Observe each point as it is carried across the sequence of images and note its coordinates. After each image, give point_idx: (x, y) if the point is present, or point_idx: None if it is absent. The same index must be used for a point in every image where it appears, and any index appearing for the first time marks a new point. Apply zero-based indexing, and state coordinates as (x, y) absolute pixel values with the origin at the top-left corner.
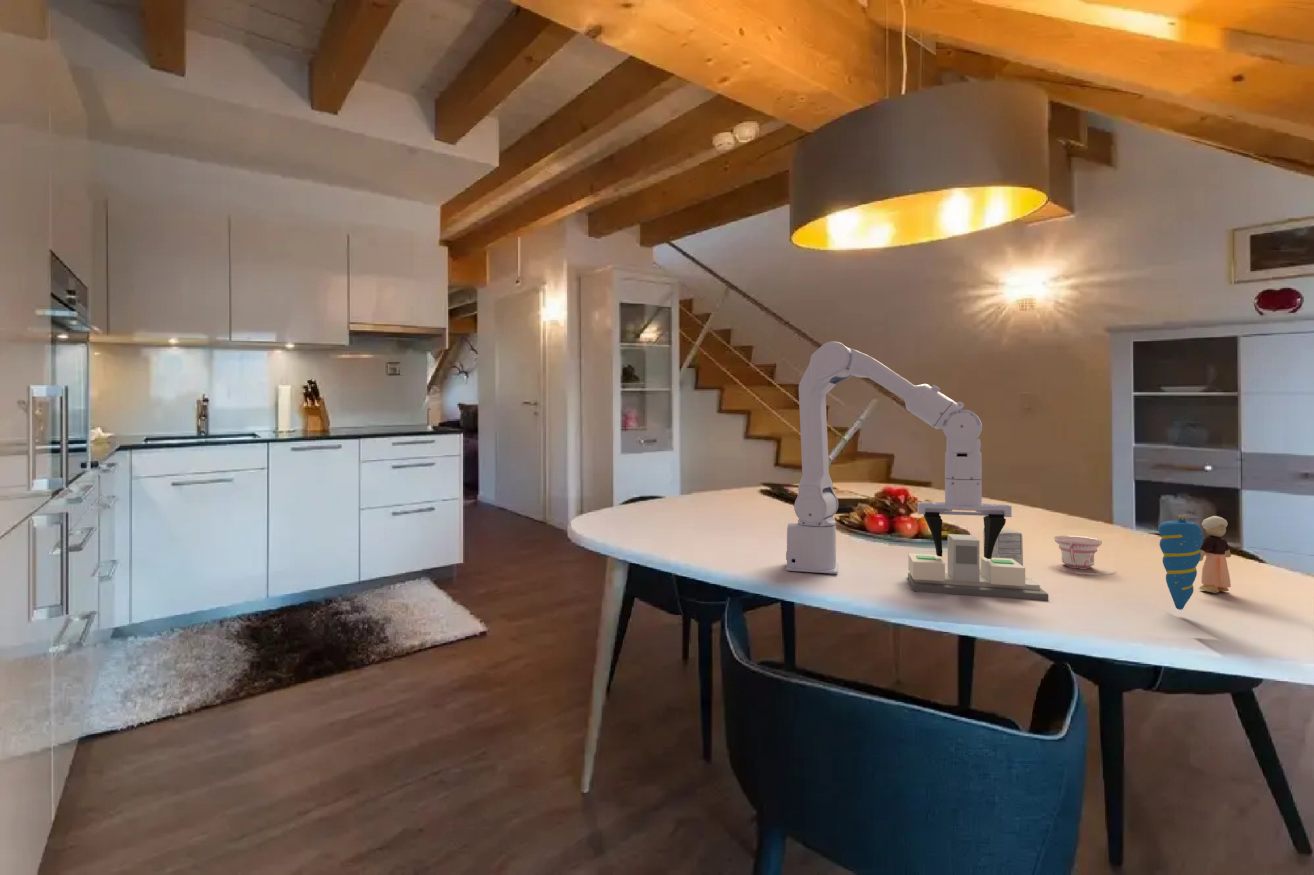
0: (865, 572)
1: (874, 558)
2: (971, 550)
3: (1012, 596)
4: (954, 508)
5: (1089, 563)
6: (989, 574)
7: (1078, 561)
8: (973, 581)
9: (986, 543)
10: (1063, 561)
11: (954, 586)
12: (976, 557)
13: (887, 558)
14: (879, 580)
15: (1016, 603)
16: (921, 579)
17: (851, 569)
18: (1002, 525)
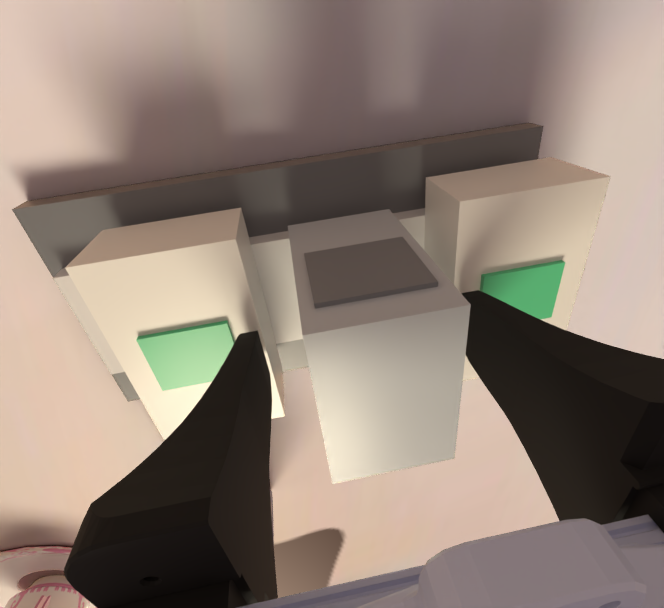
0: (607, 332)
1: (529, 479)
2: (342, 285)
3: (161, 180)
4: (639, 564)
5: (10, 602)
6: (247, 252)
7: (35, 600)
8: (311, 222)
9: (259, 408)
10: (80, 597)
11: (382, 178)
12: (310, 268)
13: (496, 491)
14: (601, 246)
15: (134, 78)
16: (519, 162)
17: (636, 349)
18: (114, 490)
